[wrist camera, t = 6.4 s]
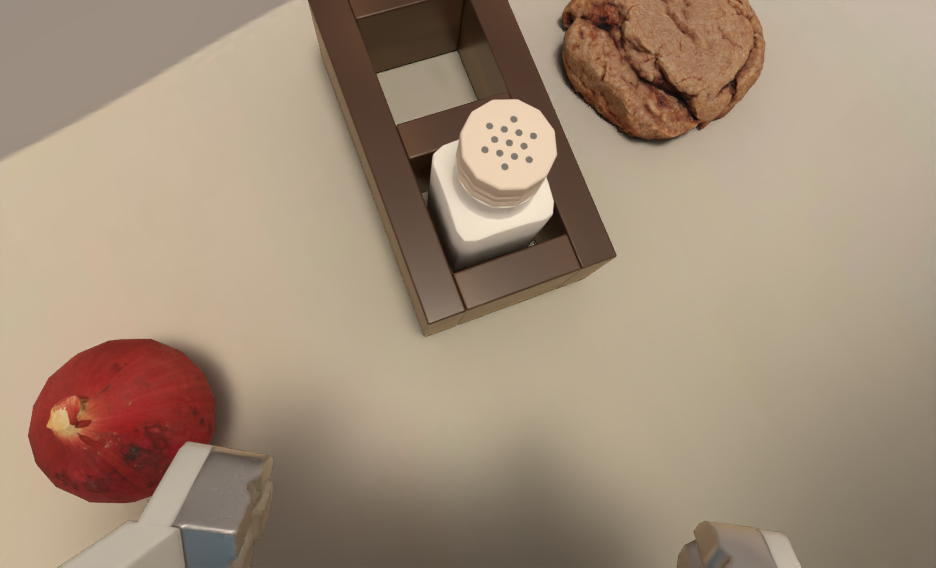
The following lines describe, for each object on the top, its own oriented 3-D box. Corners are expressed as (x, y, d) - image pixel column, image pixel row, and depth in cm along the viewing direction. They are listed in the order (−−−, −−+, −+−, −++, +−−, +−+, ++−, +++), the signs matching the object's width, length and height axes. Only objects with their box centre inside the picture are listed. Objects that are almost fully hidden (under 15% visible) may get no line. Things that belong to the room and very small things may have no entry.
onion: (267, 414, 25) (206, 421, 18) (162, 517, 24) (46, 573, 16) (176, 321, 26) (76, 287, 18) (68, 417, 25) (-90, 426, 17)
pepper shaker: (500, 178, 29) (545, 72, 19) (528, 253, 28) (587, 182, 19) (422, 201, 28) (430, 103, 19) (449, 279, 27) (471, 217, 18)
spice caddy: (475, 15, 30) (486, -50, 26) (584, 278, 28) (617, 256, 24) (322, 57, 29) (306, -4, 25) (424, 337, 27) (428, 325, 22)
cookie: (777, 113, 31) (816, 83, 28) (595, 166, 29) (616, 140, 26) (706, -46, 32) (735, -90, 30) (529, -4, 31) (542, -47, 28)
